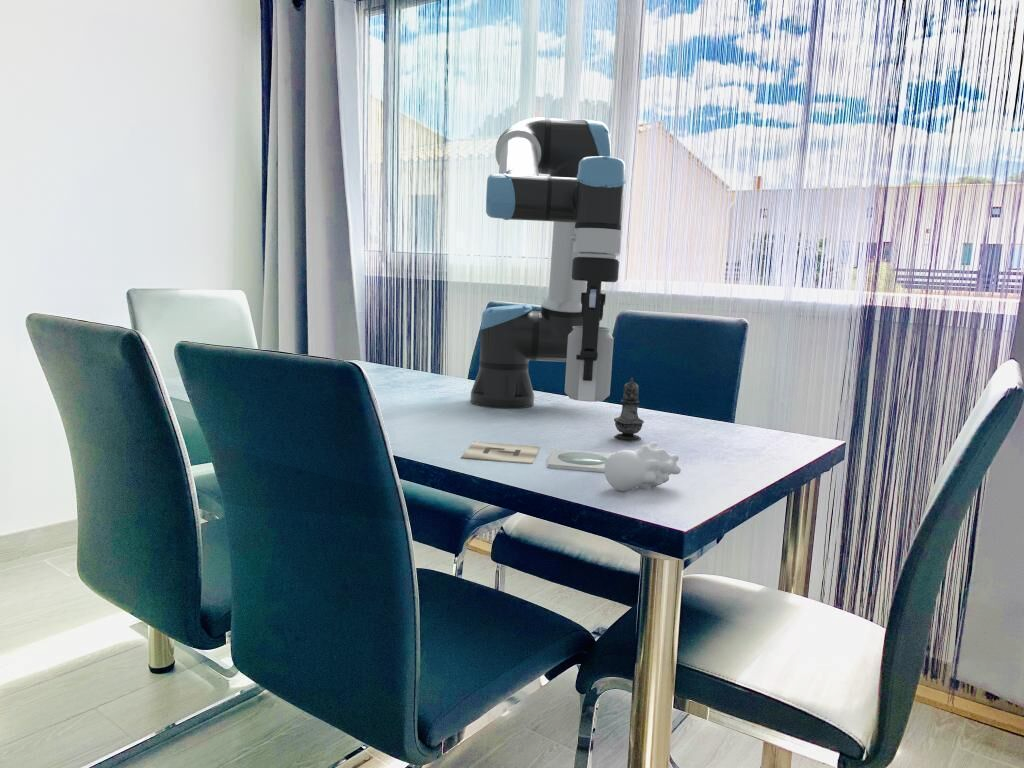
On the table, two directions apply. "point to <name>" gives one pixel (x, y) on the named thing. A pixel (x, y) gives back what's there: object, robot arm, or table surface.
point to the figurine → (640, 468)
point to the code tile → (501, 452)
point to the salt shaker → (629, 414)
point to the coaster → (578, 460)
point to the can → (602, 363)
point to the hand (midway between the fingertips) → (586, 396)
